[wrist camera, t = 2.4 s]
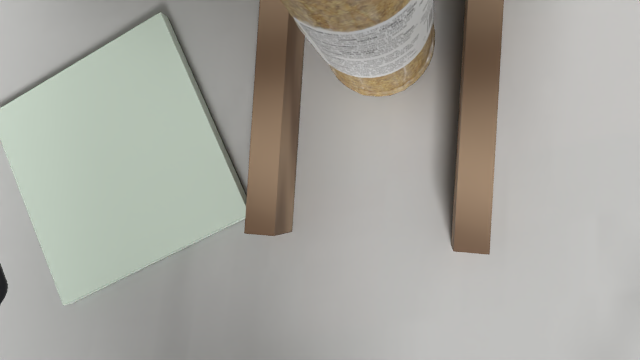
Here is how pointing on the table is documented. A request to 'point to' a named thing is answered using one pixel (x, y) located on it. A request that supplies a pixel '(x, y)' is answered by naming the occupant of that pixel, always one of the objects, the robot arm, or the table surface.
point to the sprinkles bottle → (369, 40)
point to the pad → (119, 161)
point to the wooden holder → (284, 110)
